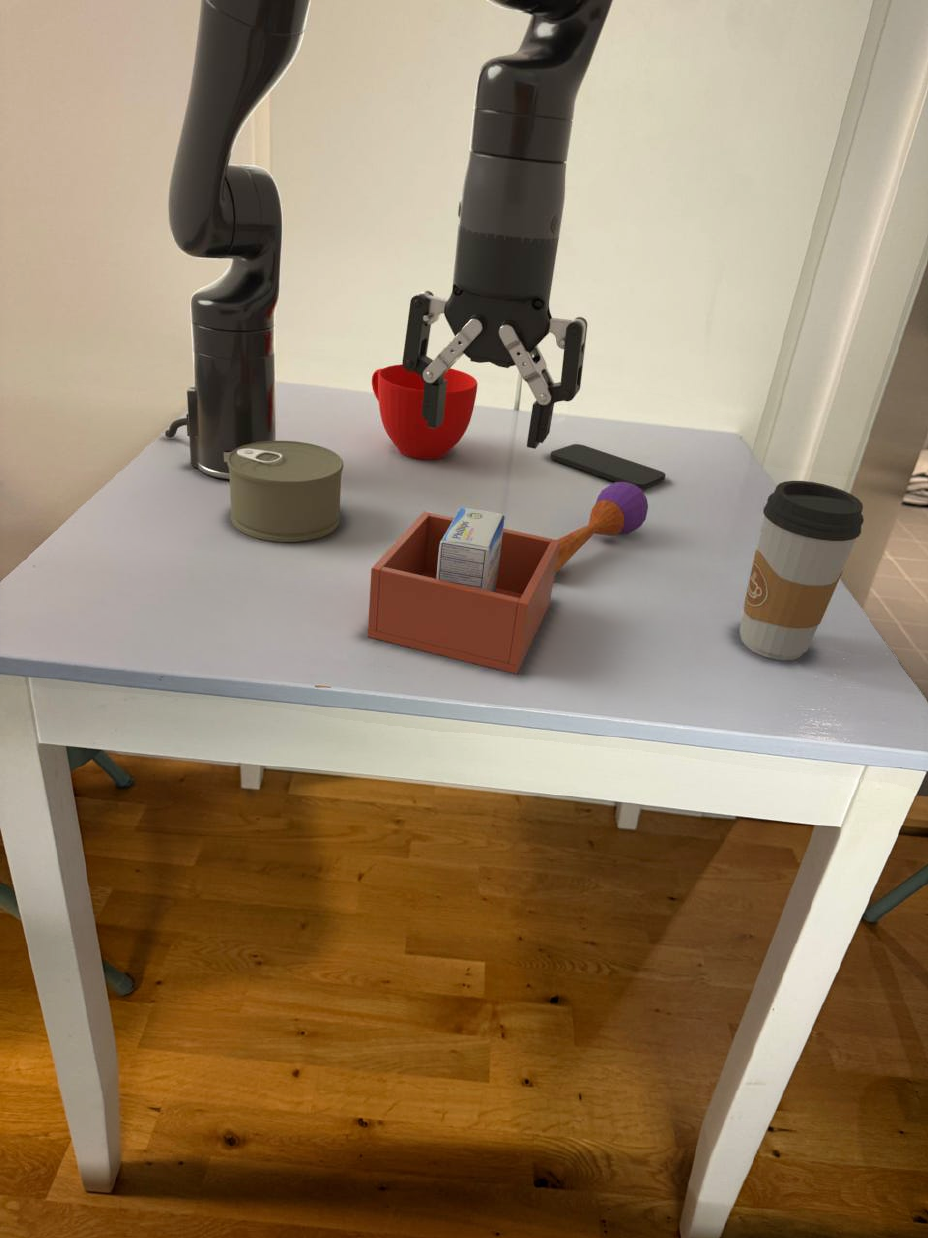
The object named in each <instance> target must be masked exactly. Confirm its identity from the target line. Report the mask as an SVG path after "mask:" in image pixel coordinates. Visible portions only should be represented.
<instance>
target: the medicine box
mask: <svg viewBox="0 0 928 1238" xmlns="http://www.w3.org/2000/svg"><path fill="white" fill-rule="evenodd" d="M453 518H454V520H453V521H452V523H451V525H450V527H449V528H448V530H447V532H446V534H445V535H444V537H443V539H442V540H441V541H440V547H439V555H438V567H437V579H439V580H443V581H447V582H452V583H456V584H460V585H465V586H469V587H473V588H478V589H482V590H486V591H491V592H495V590H496V582H497V575H498V567H499V559H500V551H501V543H502V536H503V529H505V520H506V519H505V518H506V517H505V515H504V514H502V513H498V512H493V511H489V510H483V509H476V508H467V507H459V508H458V510H457V512H456V514H455V516H454V517H453Z"/></svg>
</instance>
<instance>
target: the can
mask: <svg viewBox="0 0 928 1238" xmlns="http://www.w3.org/2000/svg"><path fill="white" fill-rule="evenodd" d="M227 464H228V467H229V474H230V479H229V492H230V493H229V494H230V496H229V497H230V511H231V513H230V520H231V523H232V525H233V527H234V528H236V530H238V531H239V532H241V533H243V534H244V535H247V536H249V537H252V538H255V539H259V540H263V541H269V542H276V543H300V542H308V541H313V540H316V539H320V538H323V537H326V536H328V535H330V534H331V533H333V532H334V531H336V529H337V528H338V527H339V525H340V512H341V511H340V510H341V491H342V490H341V489H342V487H341V486H342V473H343V469H344V460H343V458H342V457H341V456H340V455H339V454H338V453H336V452H335V451H333V450H331V449H329V448H327V447H324V446H321V445H317V444H314V443H309V442H302V441H296V440H295V441H293V440H276V441H264V442H257V443H251V444H247V445H244V446H241V447H239V448H237V449H235V450H233V451H232V452H231V453H230V454H229V455H228V458H227Z"/></svg>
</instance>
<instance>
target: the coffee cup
mask: <svg viewBox="0 0 928 1238" xmlns="http://www.w3.org/2000/svg"><path fill="white" fill-rule="evenodd" d="M863 508H864V506H863V503H862V501H861V500H860V499H859V498H858V497H856V496H855V495H853V494H851V493H849V492H848V491H845V490H844V489H840V488H838V487H835V486H831V485H827V484H824V483H819V482H815V481H806V480H788V481H787V480H786V481H783V482H780V483H779V484H778V485H776V487H775V489H774V492H773V493H771V494H770V495H768V497H767V500H766V504H765V505H764V506H763V509H762V510H763V511H762V514H763V520H762V525H761V529H760V534H759V538H758V543H757V547H756V549H755V551H754V557H753V562H752V567H751V571H750V575H749V580H748V585H747V590H746V594H745V598H744V605H743V612H742V617H741V621H740V625H739V634H740V639H741V642H742V644H744V646H745V647H747V648H748V649H749V650H750V651H752V652H754V653H755V654H758V655H759V656H762V657H765V658H769V659H772V660H777V661H794V660H796V659H799V658H801V657H802V656H803V654H805V653H807V651H808V650H809V648H810V647H811V643H812V641H813V639H814V637H815V634H816V632H817V630H818V627H819V625H820V624H821V623H822V620H823V619H824V616H825V613H826V611H827V609H828V607H829V604H830V602H831V600H832V599H833V595H834V593H835V590H836V588H837V586H838V584H839V582H840V579H841V578H842V575H843V571H844V568H845V565H846V563H847V560H848V558H849V555H850V553H851V551H852V549H853V547H854V544H855V542H856V539H857V538H859V537H860V535H861V534H862V526H863V524H864V521H865V520H864V515H863V514H862V513H863Z"/></svg>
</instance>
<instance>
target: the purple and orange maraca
mask: <svg viewBox="0 0 928 1238" xmlns="http://www.w3.org/2000/svg"><path fill="white" fill-rule="evenodd" d="M648 511H649V501H648V498H647V496H646V494H645V493H644V491H643V489H640V488H638V487H637V486H636V485H633V484H631V483H627V482H615V481H614V482H613V483H611V484H610V485H608V486H606V487H604V488H603V489H602V490H601V491H600V492H599V494H598V495H597V497H596V501H595V503H594V505H593V506H592V508H591V511H590V516H589V521H588V525H585V526H584V527H581V528H579V529H576V530H574V531H572V532H570V533H568V534H566V535H562V536H561V537H559V538H556V540H559V541H560V547H559V553H558V558H557V564H556V570H555V574H556V573H557V572H558V571H560V569H562V567H563V566H564V565H566V564H567V562H569V560H570V559H571V558H572V557H573V556H574V555H575V554H576V553H577V552H578V551H579V550H580V549H581V548H582V547H583V546H584V545H585V544H586V543H587V542H588V541H589V540H590V539H591V537H593V536H594V535H601V536H616V535H629V534H631V533H633V532H635V531H636V530H638V529H639V528H640V527H641V526H642V525H643V524H644V523H645V521H646V520H647V515H648Z"/></svg>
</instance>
